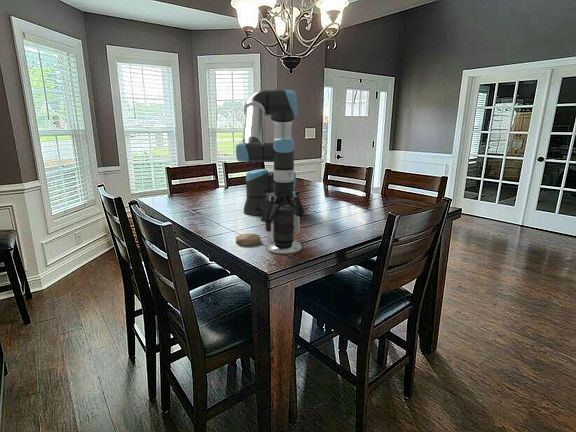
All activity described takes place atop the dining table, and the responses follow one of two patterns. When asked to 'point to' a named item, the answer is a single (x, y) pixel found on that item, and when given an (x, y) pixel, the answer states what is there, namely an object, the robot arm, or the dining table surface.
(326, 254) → the dining table surface
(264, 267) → the dining table surface
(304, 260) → the dining table surface
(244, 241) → the walnut coaster
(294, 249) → the mount flange
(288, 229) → the camera lens
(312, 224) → the dining table surface
